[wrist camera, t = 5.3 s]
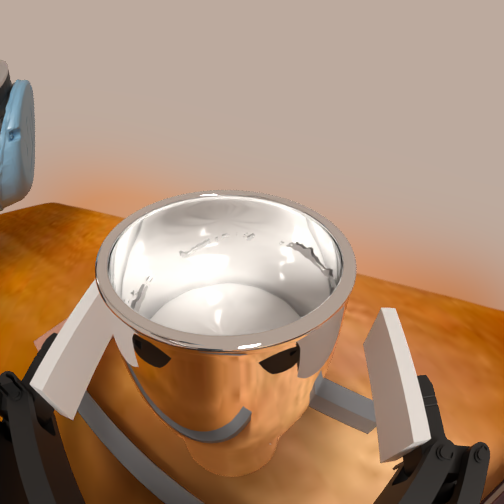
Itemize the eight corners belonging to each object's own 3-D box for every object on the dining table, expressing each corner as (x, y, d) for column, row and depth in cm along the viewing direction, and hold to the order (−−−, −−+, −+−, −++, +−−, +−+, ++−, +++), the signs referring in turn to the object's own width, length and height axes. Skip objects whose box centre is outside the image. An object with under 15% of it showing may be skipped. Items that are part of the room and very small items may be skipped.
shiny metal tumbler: (184, 487, 12) (49, 364, 3) (175, 397, 18) (117, 195, 9) (296, 471, 13) (421, 319, 5) (270, 386, 19) (305, 184, 10)
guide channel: (49, 363, 18) (33, 341, 16) (153, 290, 27) (147, 266, 25) (277, 567, 7) (285, 575, 6) (375, 417, 16) (392, 399, 15)
